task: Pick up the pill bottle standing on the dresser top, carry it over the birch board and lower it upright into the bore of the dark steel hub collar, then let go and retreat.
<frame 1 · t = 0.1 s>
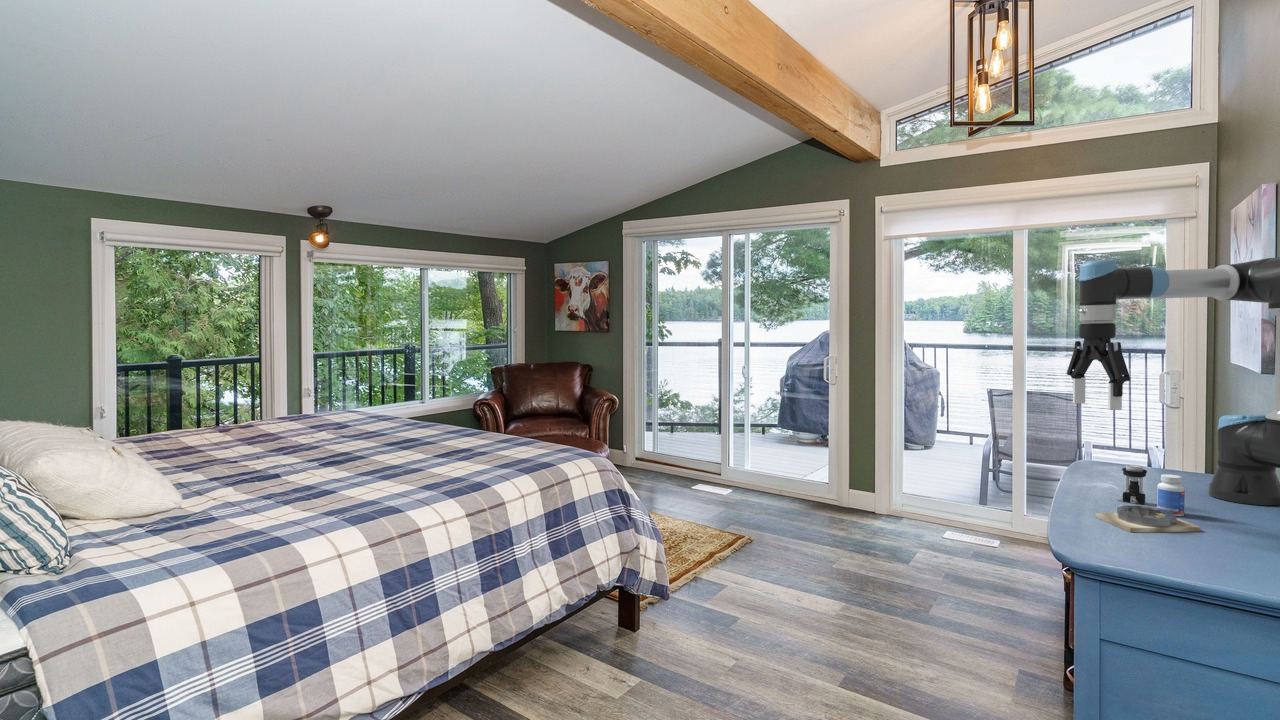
hand: (1096, 406, 163), 28 cm above the table, fingers open, 13 cm apart
board: (1146, 524, 156), on the table
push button: (1130, 502, 175), on the table
pill bottle: (1170, 514, 164), on the table
hub: (1146, 514, 156), on the board, point 2 cm above the table
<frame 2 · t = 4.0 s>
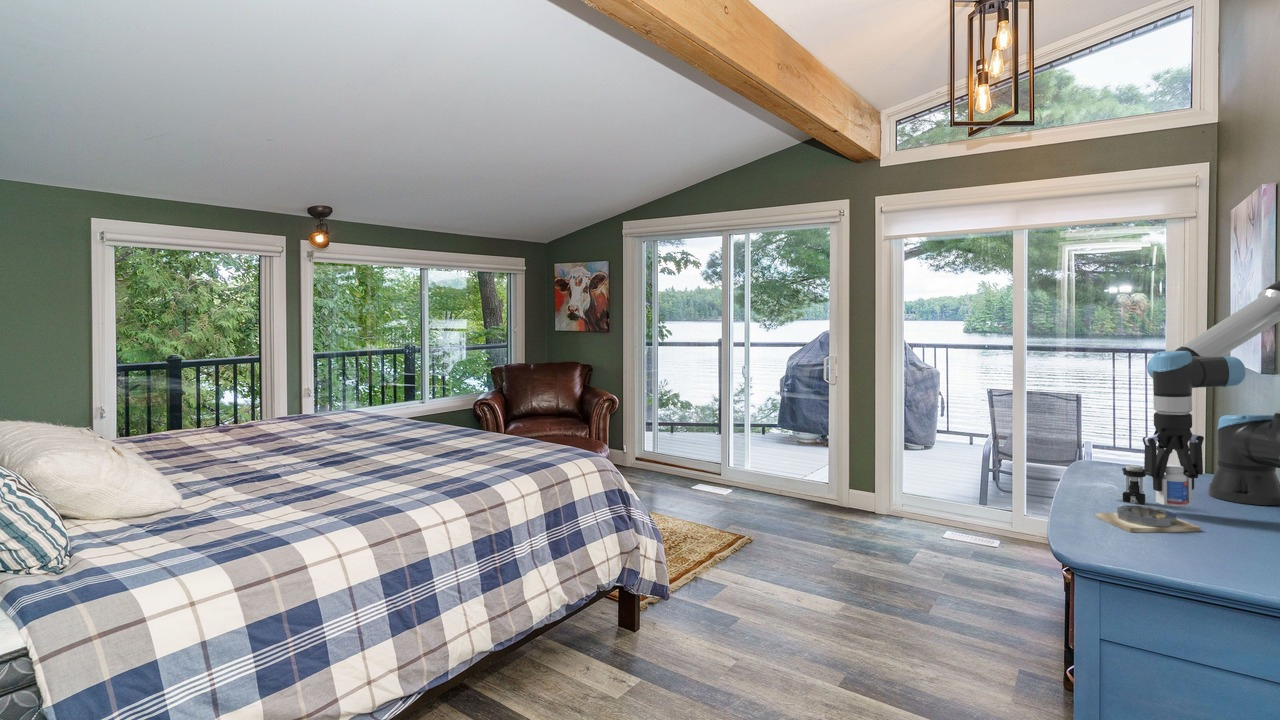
hand: (1173, 502, 164), 3 cm above the table, fingers closed on pill bottle, 5 cm apart
pill bottle: (1173, 504, 164), point 2 cm above the table, touching gripper
everything else where it was.
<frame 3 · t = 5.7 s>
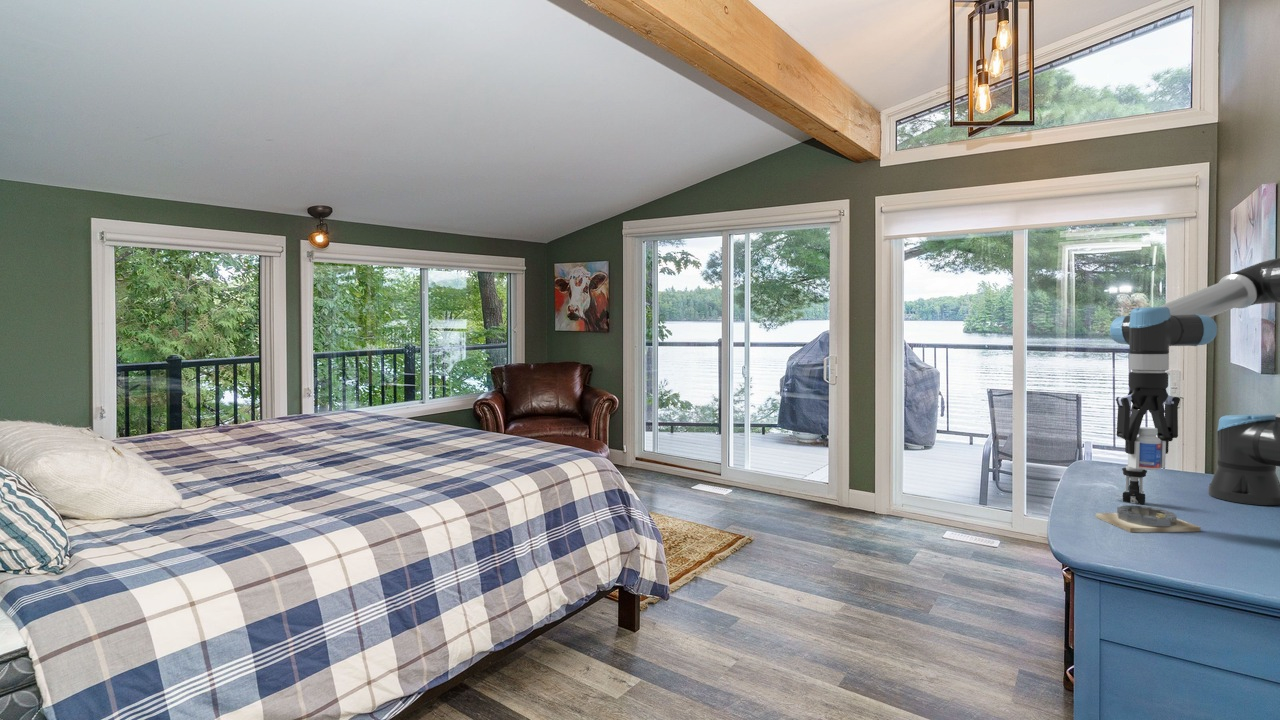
hand: (1146, 467, 156), 14 cm above the table, fingers closed on pill bottle, 5 cm apart
pill bottle: (1146, 468, 156), point 14 cm above the table, touching gripper
everything else where it was.
when the fingers open (4 cm above the table, at t = 7.3 s): pill bottle drops 2 cm, resting on board.
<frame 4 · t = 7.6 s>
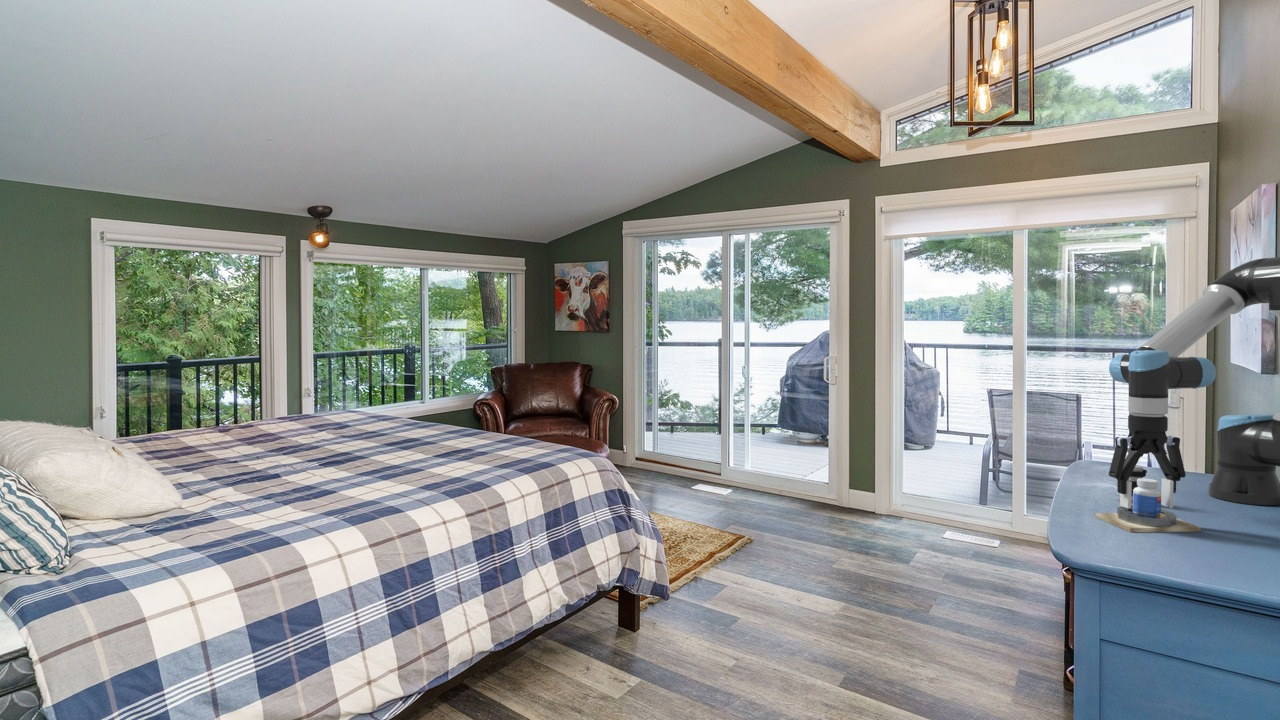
hand: (1146, 506, 156), 4 cm above the table, fingers open, 9 cm apart
pill bottle: (1146, 520, 156), point 1 cm above the table, touching board
everything else where it was.
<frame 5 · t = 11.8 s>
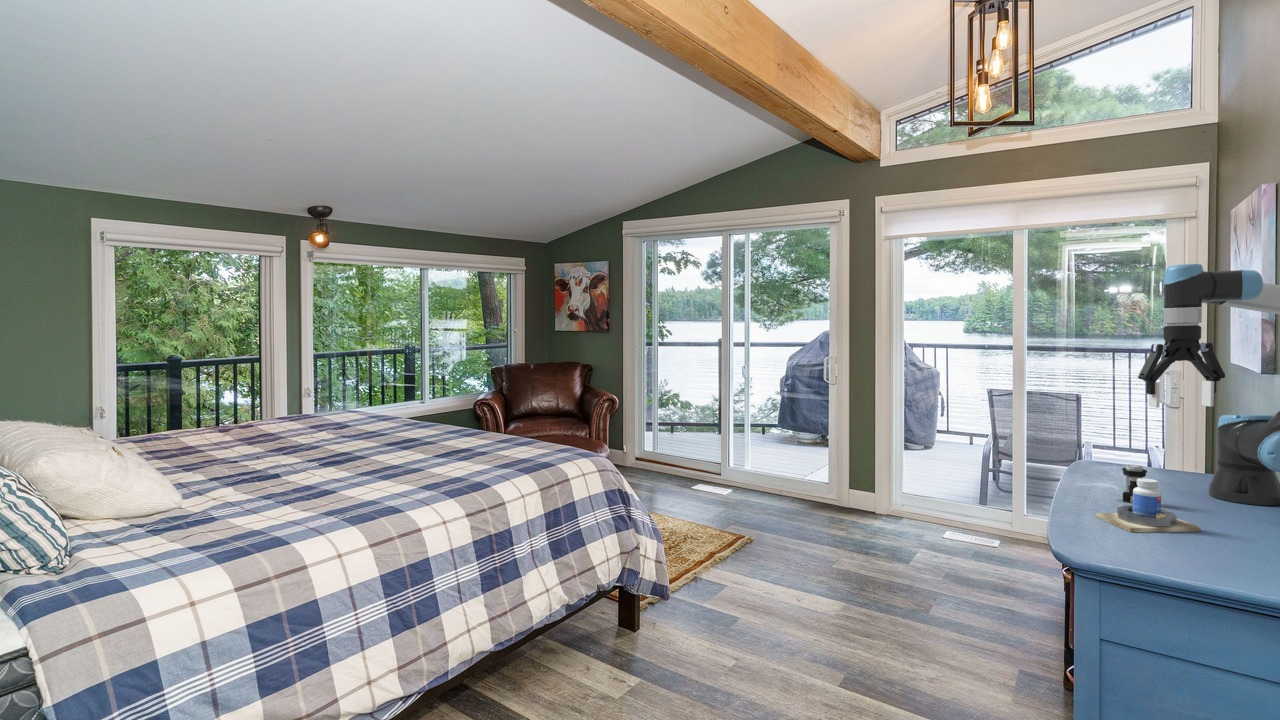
hand: (1180, 406, 168), 27 cm above the table, fingers open, 13 cm apart
nothing on the table moved.
at the end: pill bottle 0.2 cm off-centre on the hub, point 0.8 cm above the hub's base; pill bottle tilted 0°; the gripper is holding nothing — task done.
